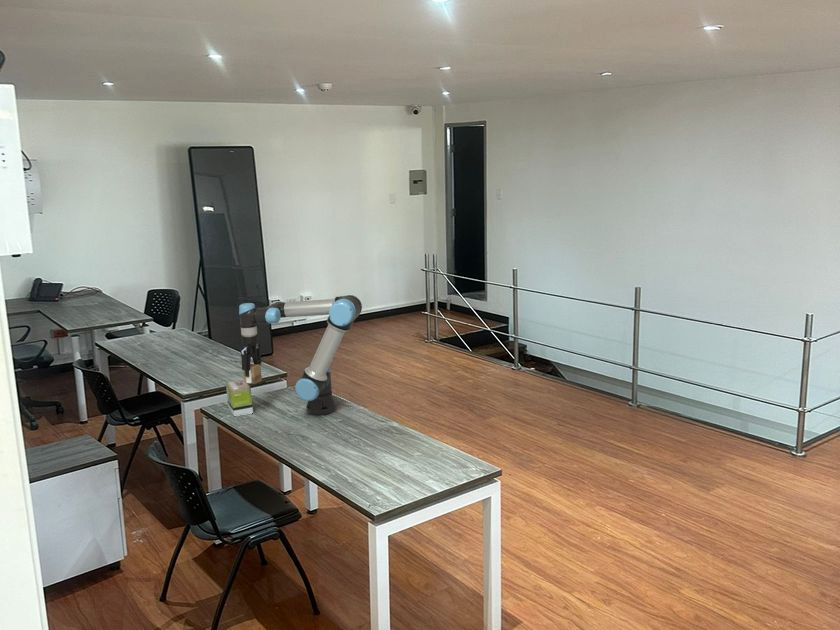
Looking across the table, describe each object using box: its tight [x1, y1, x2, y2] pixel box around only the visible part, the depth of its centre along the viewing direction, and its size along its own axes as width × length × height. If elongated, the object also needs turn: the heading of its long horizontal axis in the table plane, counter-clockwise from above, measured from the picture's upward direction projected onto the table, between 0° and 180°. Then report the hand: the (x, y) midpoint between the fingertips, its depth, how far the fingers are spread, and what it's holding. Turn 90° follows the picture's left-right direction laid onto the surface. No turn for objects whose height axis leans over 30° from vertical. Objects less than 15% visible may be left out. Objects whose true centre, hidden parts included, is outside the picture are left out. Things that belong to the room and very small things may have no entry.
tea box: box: [225, 379, 254, 417], centre depth 385 cm, size 15×10×15 cm
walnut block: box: [242, 363, 263, 385], centre depth 371 cm, size 6×6×8 cm
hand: (253, 380), depth 372 cm, fingers closed on walnut block, 6 cm apart
